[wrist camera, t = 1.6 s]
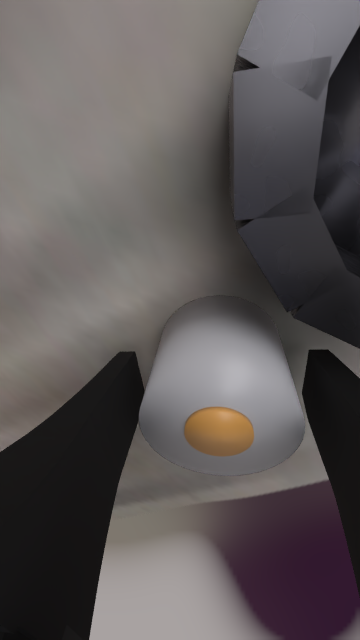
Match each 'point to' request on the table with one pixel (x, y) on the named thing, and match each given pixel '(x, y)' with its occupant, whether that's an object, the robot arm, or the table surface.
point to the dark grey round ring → (301, 157)
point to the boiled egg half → (221, 391)
